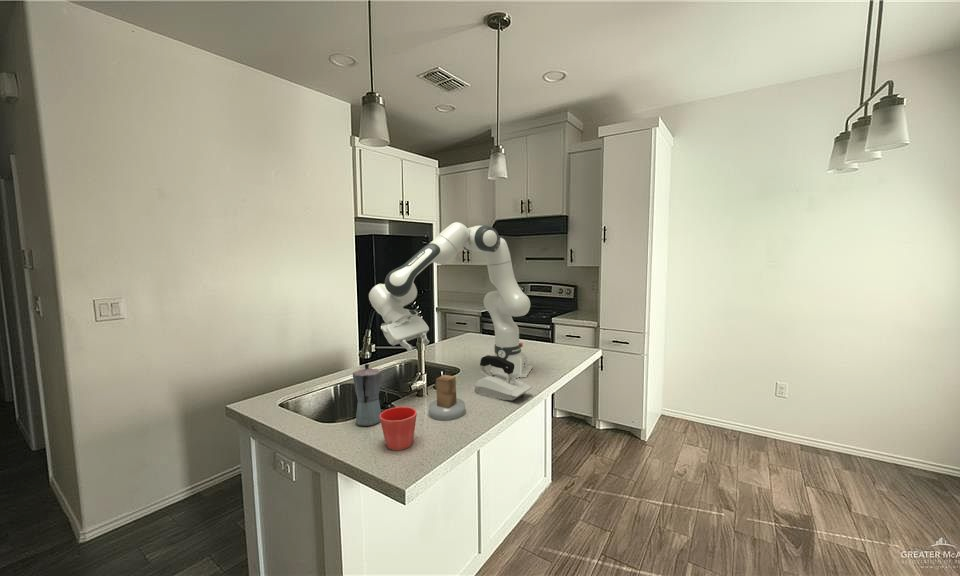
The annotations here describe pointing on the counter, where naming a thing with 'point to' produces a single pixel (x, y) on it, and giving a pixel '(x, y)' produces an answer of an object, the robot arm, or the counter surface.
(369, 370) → the moka pot
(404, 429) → the flower pot
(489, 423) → the counter surface
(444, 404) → the walnut block
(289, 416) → the counter surface
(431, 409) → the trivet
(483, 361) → the iron
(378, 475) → the counter surface
